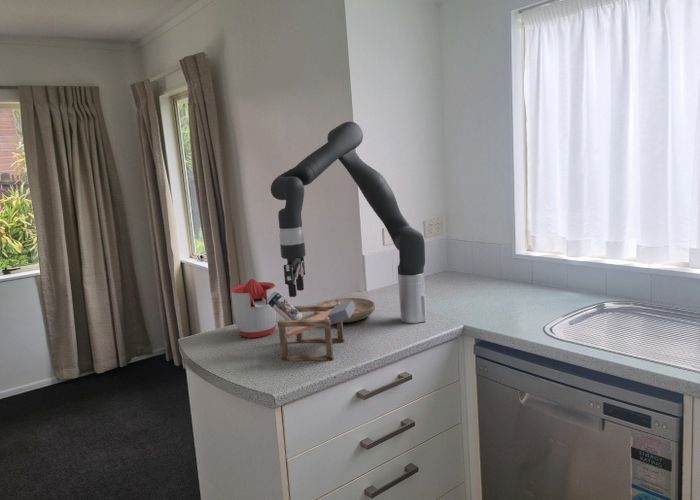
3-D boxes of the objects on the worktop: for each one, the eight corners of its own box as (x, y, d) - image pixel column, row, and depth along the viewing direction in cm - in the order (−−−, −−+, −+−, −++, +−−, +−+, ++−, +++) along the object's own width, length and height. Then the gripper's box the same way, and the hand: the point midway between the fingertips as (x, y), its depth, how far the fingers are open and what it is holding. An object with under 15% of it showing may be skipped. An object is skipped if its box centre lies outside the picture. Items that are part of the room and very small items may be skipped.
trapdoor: (356, 307, 177) (352, 298, 177) (348, 319, 164) (344, 310, 163) (301, 327, 182) (297, 318, 182) (288, 341, 168) (285, 332, 168)
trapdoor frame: (344, 340, 182) (341, 302, 180) (332, 360, 165) (329, 318, 162) (297, 340, 185) (294, 303, 183) (281, 360, 168) (277, 318, 166)
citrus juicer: (241, 344, 185) (235, 286, 182) (231, 331, 201) (225, 278, 198) (286, 336, 191) (281, 279, 188) (272, 324, 207) (267, 271, 204)
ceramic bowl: (302, 325, 203) (301, 312, 202) (333, 308, 224) (332, 296, 223) (358, 330, 192) (357, 316, 192) (385, 311, 213) (385, 299, 212)
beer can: (298, 320, 171) (269, 294, 172) (291, 329, 173) (263, 304, 175) (306, 313, 175) (278, 288, 176) (299, 322, 177) (272, 297, 179)
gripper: (297, 245, 162) (302, 299, 165) (309, 238, 176) (314, 287, 179) (273, 246, 164) (278, 299, 166) (287, 239, 178) (291, 288, 180)
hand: (296, 293), depth 173 cm, fingers open, 8 cm apart
